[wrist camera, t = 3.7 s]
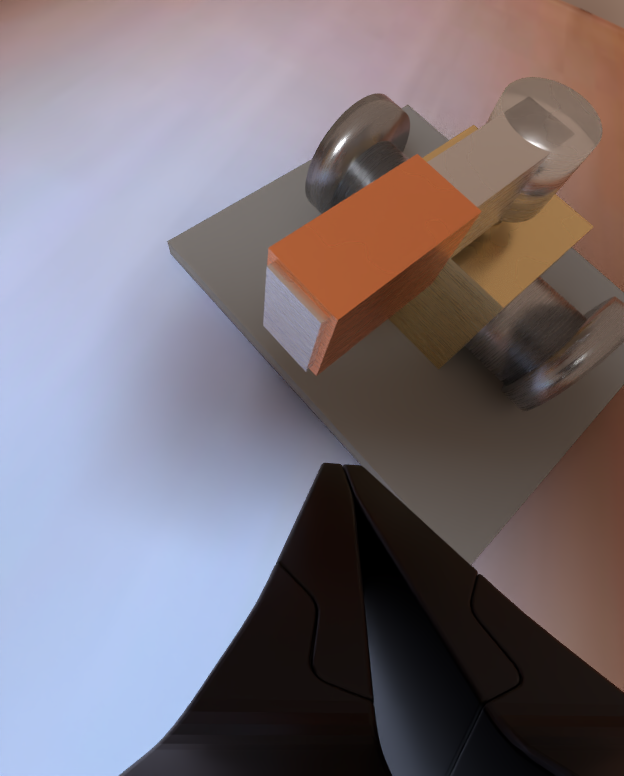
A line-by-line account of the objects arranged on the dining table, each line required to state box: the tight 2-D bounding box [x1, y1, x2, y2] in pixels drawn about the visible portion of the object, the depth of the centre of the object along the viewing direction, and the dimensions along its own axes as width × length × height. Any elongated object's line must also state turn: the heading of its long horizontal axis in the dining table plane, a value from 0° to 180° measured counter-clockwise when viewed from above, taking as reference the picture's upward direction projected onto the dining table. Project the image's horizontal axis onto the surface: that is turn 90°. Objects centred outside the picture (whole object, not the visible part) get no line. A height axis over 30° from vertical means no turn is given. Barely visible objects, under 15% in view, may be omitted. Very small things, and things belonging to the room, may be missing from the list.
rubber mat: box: [167, 105, 624, 565], centre depth 19 cm, size 17×15×1 cm
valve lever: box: [263, 77, 602, 376], centre depth 11 cm, size 10×3×3 cm, turn 132°
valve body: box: [305, 93, 624, 411], centre depth 16 cm, size 12×5×6 cm, turn 42°
